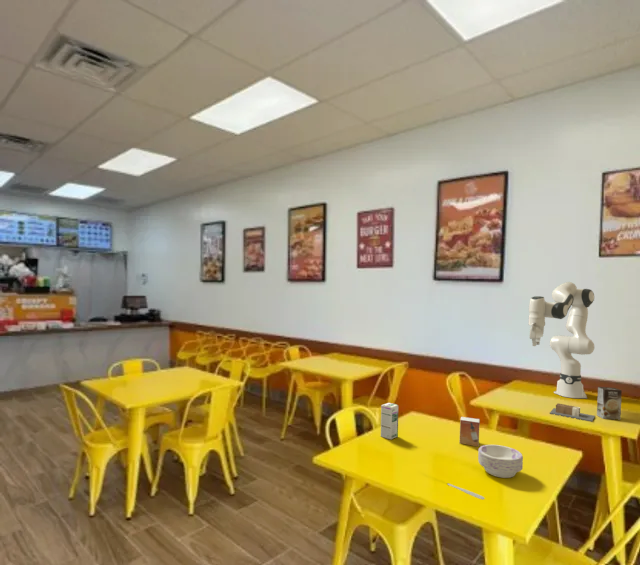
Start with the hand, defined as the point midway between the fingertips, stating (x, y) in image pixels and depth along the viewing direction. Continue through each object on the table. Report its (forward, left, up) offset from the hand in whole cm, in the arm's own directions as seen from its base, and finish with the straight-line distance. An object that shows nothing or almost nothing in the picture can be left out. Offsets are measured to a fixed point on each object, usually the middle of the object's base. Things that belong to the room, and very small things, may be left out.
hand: (536, 345), depth 257 cm
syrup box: (+115, -36, -35) cm, 125 cm away
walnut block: (+14, +14, -32) cm, 38 cm away
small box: (+97, -6, -35) cm, 103 cm away
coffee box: (+4, +38, -35) cm, 52 cm away
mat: (+14, +22, -35) cm, 43 cm away
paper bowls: (+119, +13, -35) cm, 125 cm away
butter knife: (+141, +1, -36) cm, 146 cm away
